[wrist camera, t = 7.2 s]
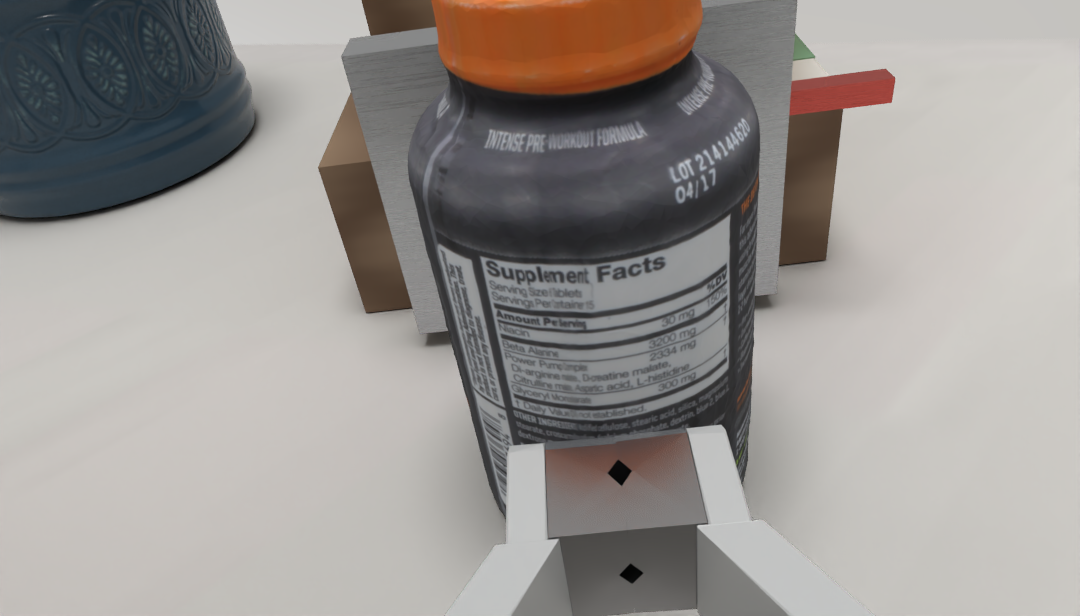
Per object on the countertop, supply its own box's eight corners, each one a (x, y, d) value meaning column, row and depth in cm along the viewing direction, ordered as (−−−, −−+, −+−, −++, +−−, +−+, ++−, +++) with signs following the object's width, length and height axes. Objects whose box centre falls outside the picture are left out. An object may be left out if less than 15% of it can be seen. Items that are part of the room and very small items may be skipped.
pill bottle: (567, 352, 22) (505, -102, 15) (782, 416, 19) (828, -109, 12) (437, 512, 18) (272, 0, 11) (683, 623, 15) (666, 25, 8)
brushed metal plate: (419, 334, 22) (341, 56, 17) (424, 308, 23) (350, 38, 18) (868, 283, 21) (916, -21, 17) (853, 258, 22) (895, -36, 18)
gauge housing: (365, 312, 24) (254, -26, 18) (413, 123, 35) (354, -126, 29) (826, 259, 23) (869, -113, 17) (726, 82, 35) (731, -182, 28)
